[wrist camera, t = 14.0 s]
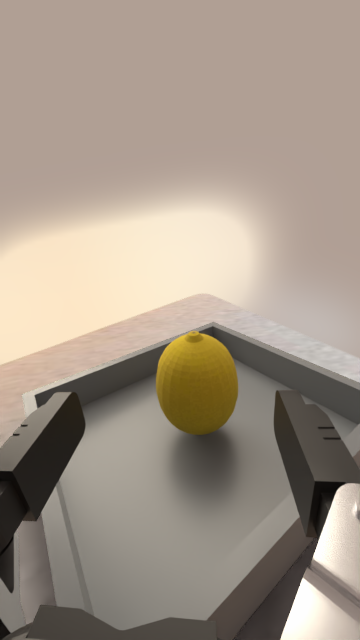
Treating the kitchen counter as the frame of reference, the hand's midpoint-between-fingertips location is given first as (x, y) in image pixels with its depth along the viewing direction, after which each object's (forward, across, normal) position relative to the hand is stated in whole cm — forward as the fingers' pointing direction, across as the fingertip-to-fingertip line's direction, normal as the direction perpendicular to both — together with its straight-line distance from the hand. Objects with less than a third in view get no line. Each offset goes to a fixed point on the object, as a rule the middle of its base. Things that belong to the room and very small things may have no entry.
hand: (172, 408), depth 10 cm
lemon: (+6, 0, +8) cm, 10 cm away
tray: (+7, 0, +8) cm, 11 cm away
